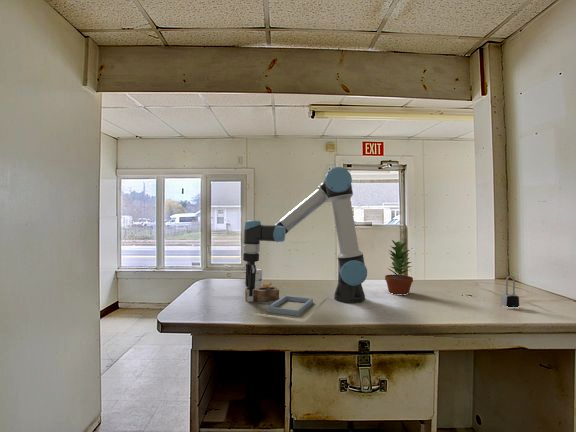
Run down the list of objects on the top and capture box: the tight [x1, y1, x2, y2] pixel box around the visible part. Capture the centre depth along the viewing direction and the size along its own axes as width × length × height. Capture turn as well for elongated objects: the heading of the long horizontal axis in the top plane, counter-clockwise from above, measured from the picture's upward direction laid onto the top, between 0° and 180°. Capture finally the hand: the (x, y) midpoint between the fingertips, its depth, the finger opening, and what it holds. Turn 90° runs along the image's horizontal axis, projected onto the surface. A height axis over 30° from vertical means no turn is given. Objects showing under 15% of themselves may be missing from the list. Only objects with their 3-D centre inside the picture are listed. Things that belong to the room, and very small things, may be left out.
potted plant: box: [384, 239, 414, 295], centre depth 172 cm, size 15×15×30 cm
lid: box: [254, 281, 281, 304], centre depth 151 cm, size 13×13×9 cm
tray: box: [266, 295, 314, 319], centre depth 139 cm, size 14×21×3 cm, turn 159°
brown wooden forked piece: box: [244, 285, 280, 303], centre depth 151 cm, size 16×7×5 cm, turn 107°
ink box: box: [245, 268, 263, 288], centre depth 173 cm, size 9×5×12 cm, turn 84°
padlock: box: [500, 275, 520, 307], centre depth 146 cm, size 7×4×15 cm, turn 93°
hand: (249, 301), depth 150 cm, fingers closed on brown wooden forked piece, 3 cm apart
